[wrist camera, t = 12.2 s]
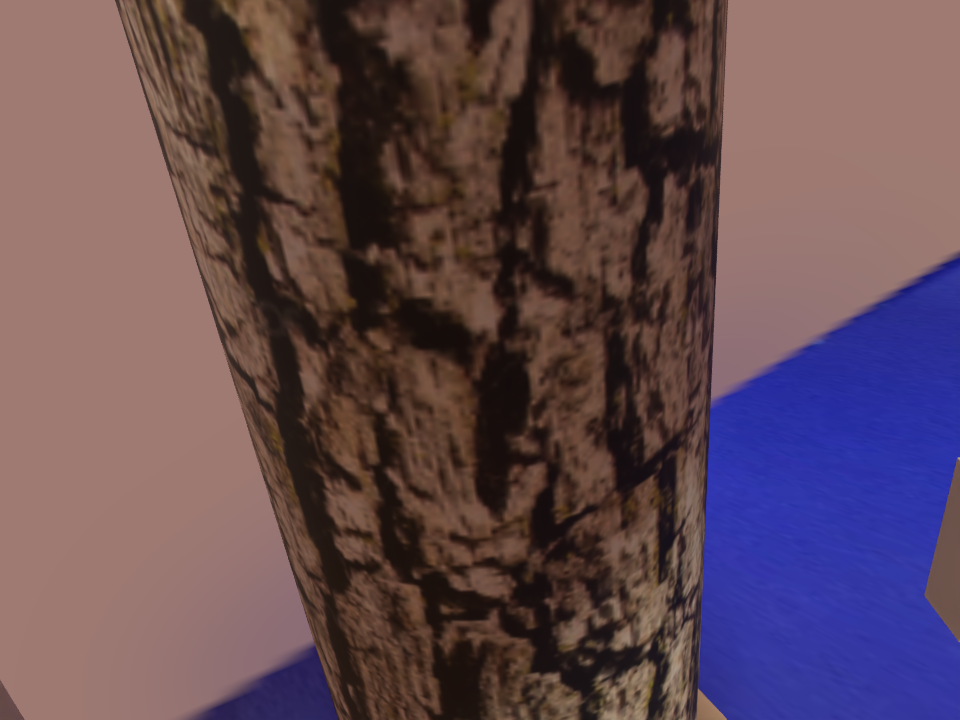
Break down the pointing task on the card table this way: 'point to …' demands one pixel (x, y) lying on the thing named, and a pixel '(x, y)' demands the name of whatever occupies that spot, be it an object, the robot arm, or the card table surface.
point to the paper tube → (465, 328)
